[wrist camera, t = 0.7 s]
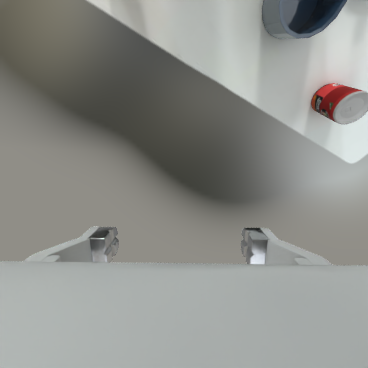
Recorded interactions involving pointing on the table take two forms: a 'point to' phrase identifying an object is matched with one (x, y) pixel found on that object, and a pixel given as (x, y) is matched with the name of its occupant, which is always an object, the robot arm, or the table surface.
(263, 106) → the table surface
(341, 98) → the canned food
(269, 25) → the pot
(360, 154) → the table surface
